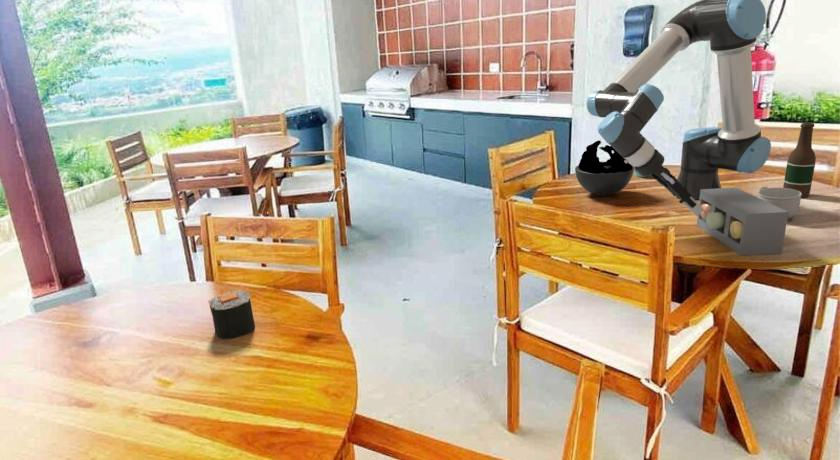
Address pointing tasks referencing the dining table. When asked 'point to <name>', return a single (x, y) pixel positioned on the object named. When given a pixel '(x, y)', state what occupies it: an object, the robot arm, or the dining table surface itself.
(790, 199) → the teacup
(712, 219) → the sage button
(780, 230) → the console
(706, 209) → the terracotta button
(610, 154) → the bowl of black rocks
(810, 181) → the beer bottle
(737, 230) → the ochre button
